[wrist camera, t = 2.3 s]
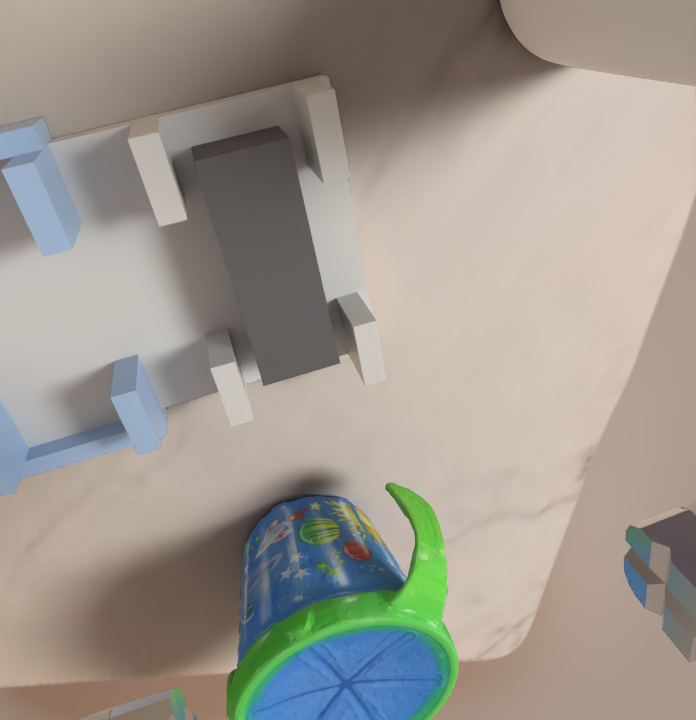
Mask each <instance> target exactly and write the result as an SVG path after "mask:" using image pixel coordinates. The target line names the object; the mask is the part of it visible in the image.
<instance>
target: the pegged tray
mask: <svg viewBox="0 0 696 720" xmlns="http://www.w3.org/2000/svg"><path fill="white" fill-rule="evenodd" d="M274 126H279V127H280V128H281V129H282V130H283V131H284V132H285V133H286V135H287V136H288V137H289V138H290V142H291V146H292V150H293V155H294V159H295V164H296V168H297V173H298V177H299V182H300V186H301V191H302V195H303V199H304V204H305V208H306V213H307V217H308V222H309V226H310V231H311V235H312V240H313V244H314V248H315V253H316V257H317V262H318V266H319V271H320V275H321V280H322V284H323V288H324V293H325V297H326V302H327V306H328V311H329V315H330V320H331V324H332V329H333V333H334V337H335V342H336V346H337V351H338V355H339V356H341V355H345V354H349V356H350V358H351V360H352V362H353V364H354V366H355V368H356V369H357V371H358V373H359V375H360V377H361V379H362V381H363V383H364V385H365V386H367V385H370V384H374V383H377V382H380V381H384V380H387V377H386V372H385V366H384V361H383V355H382V349H381V344H380V338H379V333H378V327H377V322H376V319H375V318H374V316H373V315H372V310H371V305H370V299H369V294H368V288H367V283H366V277H365V272H364V266H363V261H362V255H361V250H360V244H359V239H358V233H357V228H356V222H355V217H354V211H353V206H352V200H351V195H350V189H349V184H348V178H350V171H349V166H348V160H347V155H346V149H345V143H344V138H343V132H342V127H341V121H340V116H339V110H338V104H337V99H336V93H335V89H333V88H331V85H330V80H329V77H328V76H326V75H319V76H314V77H310V78H306V79H302V80H298V81H293V82H289V83H285V84H281V85H277V86H272V87H268V88H264V89H260V90H256V91H251V92H247V93H243V94H239V95H234V96H230V97H226V98H222V99H218V100H213V101H209V102H205V103H201V104H197V105H192V106H188V107H184V108H180V109H176V110H171V111H167V112H163V113H159V114H155V115H150V116H146V117H142V118H138V119H134V120H129V121H125V122H121V123H117V124H112V125H108V126H104V127H100V128H96V129H91V130H87V131H83V132H79V133H75V134H70V135H66V136H62V137H58V138H54V139H52V137H51V135H50V132H49V130H48V128H47V125H46V123H45V121H44V118H43V117H38V118H34V119H30V120H25V121H21V122H17V123H12V124H8V125H4V126H0V497H1V496H5V495H8V494H11V493H15V492H16V490H17V487H18V484H19V480H20V479H22V478H25V477H29V476H32V475H35V474H39V473H42V472H45V471H49V470H52V469H55V468H59V467H62V466H65V465H68V464H72V463H75V462H78V461H82V460H85V459H88V458H92V457H95V456H98V455H102V454H105V453H108V452H112V451H115V450H118V449H122V448H125V447H128V446H132V445H133V446H134V448H135V450H136V452H137V454H138V455H140V454H143V453H146V452H150V451H153V450H156V449H160V448H161V447H162V436H165V435H168V431H167V408H166V407H169V406H172V405H176V404H179V403H182V402H186V401H189V400H192V399H196V398H199V397H203V396H206V395H209V394H213V393H216V392H219V394H220V397H221V400H222V402H223V405H224V408H225V411H226V413H227V416H228V419H229V422H230V425H231V427H232V426H235V425H239V424H242V423H245V422H248V421H252V420H254V417H253V412H252V408H251V403H250V399H249V394H248V390H247V385H246V384H247V383H250V382H253V381H257V380H260V379H261V376H260V373H259V369H258V366H257V363H256V360H255V356H254V353H253V350H252V347H251V344H250V340H249V337H248V334H247V331H246V328H245V324H244V321H243V318H242V315H241V311H240V308H239V305H238V302H237V299H236V295H235V292H234V289H233V286H232V283H231V279H230V276H229V273H228V270H227V266H226V263H225V260H224V257H223V254H222V250H221V247H220V244H219V241H218V238H217V234H216V231H215V228H214V225H213V221H212V218H211V215H210V212H209V209H208V205H207V202H206V199H205V196H204V193H203V189H202V186H201V183H200V180H199V176H198V173H197V170H196V167H195V164H194V160H193V154H192V149H191V147H193V146H197V145H201V144H205V143H209V142H213V141H217V140H221V139H225V138H229V137H233V136H237V135H241V134H246V133H250V132H254V131H258V130H262V129H266V128H270V127H274Z"/></svg>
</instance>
